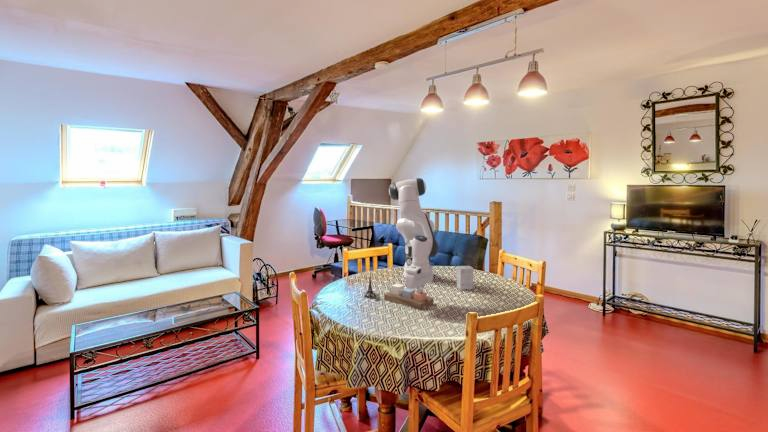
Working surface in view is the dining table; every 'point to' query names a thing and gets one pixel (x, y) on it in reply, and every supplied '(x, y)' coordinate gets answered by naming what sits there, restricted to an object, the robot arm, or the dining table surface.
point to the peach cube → (420, 296)
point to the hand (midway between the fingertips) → (420, 292)
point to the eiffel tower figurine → (371, 293)
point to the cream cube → (397, 289)
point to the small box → (464, 277)
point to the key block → (408, 301)
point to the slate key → (408, 293)
